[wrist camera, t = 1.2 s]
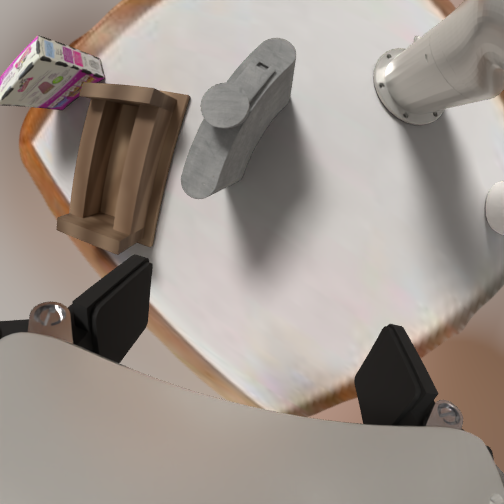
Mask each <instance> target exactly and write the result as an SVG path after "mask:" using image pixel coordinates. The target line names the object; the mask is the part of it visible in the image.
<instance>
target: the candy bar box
mask: <svg viewBox="0 0 504 504" xmlns="http://www.w3.org/2000/svg"><path fill="white" fill-rule="evenodd" d="M104 78H105V77H104V73H103V69H102V64H101V61H100V59H99V58H97V57H95V56H92V55H90V54H87V53H85V52H82V51H80V50H78V49H75V48H72V47H69V46H67V45H64V44H62V43H59V42H56V41H53V40H51V39H47V38H45V37H42V36H39V35H38V36H37V37H36V38H35V39H34V40H33V41H32V42H31V43H30V44H29V45H28V46H27V47H26V48H25V49H24V50H23V51H22V52H21V53H20V55H18V57H17V58H16V59H15V60H14V61H13V62H12V64H11V65H10V66H9V67H8V68H7V69H6V70H5V72H4V73H3V74H2V75H1V77H0V105H6V106H7V105H8V106H24V107H36V108H47V109H56V110H63V109H64V108H65V107H67V106H68V105H69V104H70V103H72V102H73V101H74V100H75V99H77V98H78V97H79V94H80V91H81V88H82V84H83V83H98V82H99V81H101V80H102V79H104Z"/></svg>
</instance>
